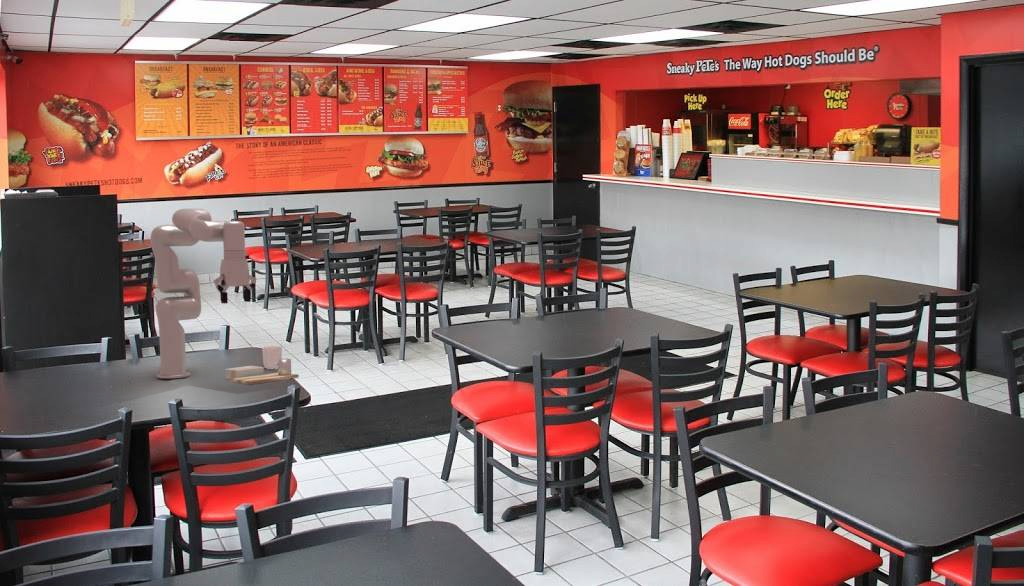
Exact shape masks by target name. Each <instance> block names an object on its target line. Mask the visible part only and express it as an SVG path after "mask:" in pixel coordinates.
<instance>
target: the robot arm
mask: <svg viewBox="0 0 1024 586" xmlns="http://www.w3.org/2000/svg"><path fill="white" fill-rule="evenodd" d="M171 221H172V224H162V225H158V226H156V227H154V228H153V229H152V231H151V233H150V240H149V242H150V246H151V249H152V253H153V256H154V259H155V271H156V280H157V288H158V290H159V292H161V294H183V296H166V297H163V298H160V300H157V302H156V304H155V314H156V319H157V322H158V323H157V324H158V331H159V332H158V333H159V356H160V357H159V358H160V366H158V370H159V371H160V372H159V373H157V374H156V378H158V379H165V380H166V379H167V380H168V379H181V378H186V377H187V378H188V377H190V376H191V372H190V371H187V356H186V355H187V354H186V335H185V334H186V333H185V329H184V327H183V326H182V324H181V323H180V321H187V320H195V319H197V318H199V317H200V315H201V313H202V300H201V287H200V279H199V276H198V274H197V273H196V272H195V271H194V269H191V268H180V266H179V257H178V255H177V254H176V252H175V251H174V250H173V249H172V247H192V246H195V245H197V244H198V243H199V242H200V241H201V242H205V243H206V242H207V243H213V242H214V243H215V242H217V243H218V242H223V243H222V244H223V247H222V248H223V259H221V262H220V269H219V276H217V278H215V279H214V280H213V281H212V282H213V283H214V285H215V289H217V290H218V292H219V295H220V302H221V304H228V302H229V301H228V298H229V297H228V292H227V290H228V289H229V288H231V287H234V288H235V287H242V288H243V289H244V290H243V301H244V302H249V303H250V302H251V299H252V291H253V288H254V287H255V284H256V282H257V278H256V277H254V276H253V275H251V274H250V268H249V263H248V259H247V258H246V256H248V255H249V253H248V251H246V236H245V233H246V232H245V223H244V222H242V221H238V220H237V221H236V220H235V221H233V220H231V221H229V220H212V215H211V213H210V212H209V211H208V210H206V209H204V208H180V209H177V210H176V211H174V213H173V214H172V217H171Z"/></svg>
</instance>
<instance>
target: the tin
mask: <svg viewBox="0 0 1024 586" xmlns="http://www.w3.org/2000/svg"><path fill="white" fill-rule="evenodd" d="M277 372H278V375H279V376H287V375H291V374H292V359H291V358H282V359H278V369H277Z"/></svg>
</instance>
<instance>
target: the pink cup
mask: <svg viewBox="0 0 1024 586" xmlns="http://www.w3.org/2000/svg"><path fill="white" fill-rule="evenodd" d="M261 348H262V349H261V350H262V352H261V353H262V360H263V361H262V362H263V367H264V368H267V369H274V368H275V369H274V370H278V365H277V364H278V359H283V346H282V345H267V346H266V345H265V346H263V347H261ZM267 369H266V370H267Z"/></svg>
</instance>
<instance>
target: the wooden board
mask: <svg viewBox="0 0 1024 586" xmlns="http://www.w3.org/2000/svg"><path fill="white" fill-rule="evenodd" d="M291 378H292V380H293V379H298V378H299V374H297V373H291V375H287V376H279V375H278V371H277V372H271V373H264V374H262V375H255V376H248V377H241V378H234V379H232V380H231V382H232V383H236V384H237V383H238V384H243V385H250V386H251V385H252V386H253V385H256V384H257V385H258V384H265V383H270V382H279V381H285V380H291Z"/></svg>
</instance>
